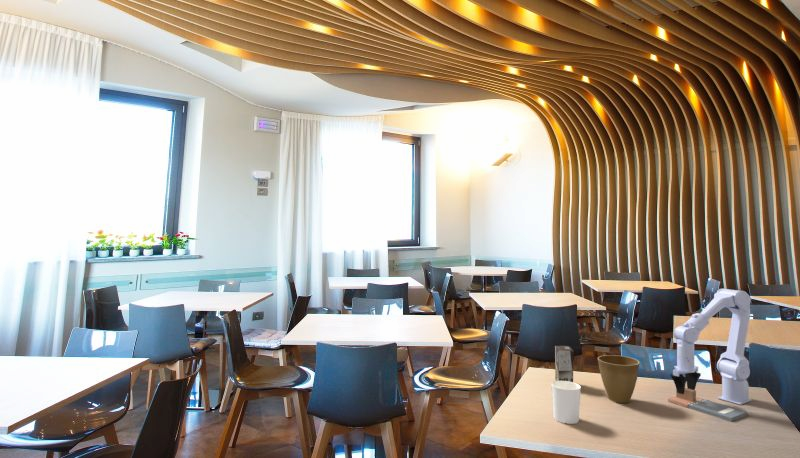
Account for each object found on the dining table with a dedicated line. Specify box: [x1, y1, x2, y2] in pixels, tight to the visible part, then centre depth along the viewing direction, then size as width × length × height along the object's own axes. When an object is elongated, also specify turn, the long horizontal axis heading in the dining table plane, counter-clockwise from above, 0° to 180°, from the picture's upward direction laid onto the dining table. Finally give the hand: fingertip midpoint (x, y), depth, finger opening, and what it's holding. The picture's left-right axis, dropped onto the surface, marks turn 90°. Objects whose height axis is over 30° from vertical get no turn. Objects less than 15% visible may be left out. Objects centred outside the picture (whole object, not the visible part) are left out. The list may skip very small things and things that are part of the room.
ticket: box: [688, 399, 748, 422], centre depth 162 cm, size 12×14×1 cm
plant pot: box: [597, 354, 640, 404], centre depth 173 cm, size 15×15×16 cm
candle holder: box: [550, 381, 582, 425], centre depth 154 cm, size 10×10×12 cm
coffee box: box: [554, 345, 574, 383], centre depth 192 cm, size 9×6×16 cm
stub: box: [667, 387, 705, 408], centre depth 172 cm, size 12×7×5 cm, turn 119°
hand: (685, 391), depth 172 cm, fingers open, 7 cm apart
